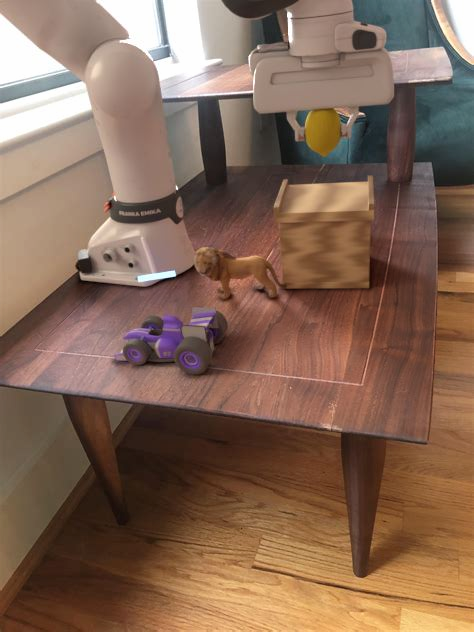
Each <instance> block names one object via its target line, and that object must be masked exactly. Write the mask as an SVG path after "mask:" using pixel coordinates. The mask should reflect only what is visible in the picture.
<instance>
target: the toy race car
mask: <svg viewBox="0 0 474 632" xmlns="http://www.w3.org/2000/svg"><path fill="white" fill-rule="evenodd" d="M191 314H192V317H191V318H190V319H191V320H190V321H189V323H188V324H186V323H184V322H183V321H181V320H180V318H178V316H176V315H174V314H173V315H172V314H164V315H163V316H162V318H161V317H160V316H159V315H154V314H153V315H152V314H151V315H148V316H147V317H145V319H144V320H143V321H142V323H141V325H140V328H139V327H138V328H134V329H131V330H129V331H128V332H127V333H125V334H124V336H122V339H123V340H124V341H126V343H125V344H124V346H123V347H122V349H121V350H120V351H119V353H114V354H113V357H114V360H115V361H119V362H128V363H130V364H131V365H135V366H141V365H143V364H145V363H146V362H155V363H169V362H170V363H171V362H172V363H173V362H174V363H175V365H176V366H177V367H178V369H179V370H181V371H182V372H184V373H186V374H188V375H194V376H196V375H201V374H203V373H204V372H206V370H207V369H208V367H209V365H210V364H211V361H212V359H213V353H214V350H215V349H216V348H215V345H217V344H219V343H220V342H221V341H222V340H223V339H224V337H225V336H226V333H227V331H228V329H229V322H228V320H227V318H226V316H225V315H224V314H222V313H221V311H219V310H218V309H217V307H209V306H194V307H192V309H191ZM150 348H151V349H152V350H153V351H152V353H151V349H150Z"/></svg>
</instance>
